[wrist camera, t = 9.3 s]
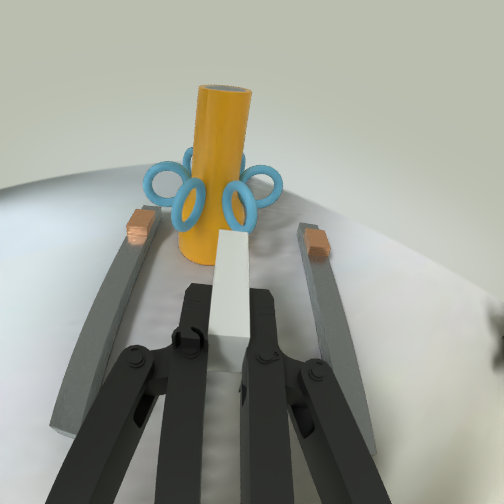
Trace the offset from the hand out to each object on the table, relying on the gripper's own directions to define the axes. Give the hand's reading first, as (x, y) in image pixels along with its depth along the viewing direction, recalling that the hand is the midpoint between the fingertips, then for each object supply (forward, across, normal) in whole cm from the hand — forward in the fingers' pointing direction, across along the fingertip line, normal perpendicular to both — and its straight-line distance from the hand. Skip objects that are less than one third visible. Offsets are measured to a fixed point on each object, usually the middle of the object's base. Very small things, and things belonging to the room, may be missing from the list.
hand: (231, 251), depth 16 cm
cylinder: (+10, -2, -8) cm, 13 cm away
